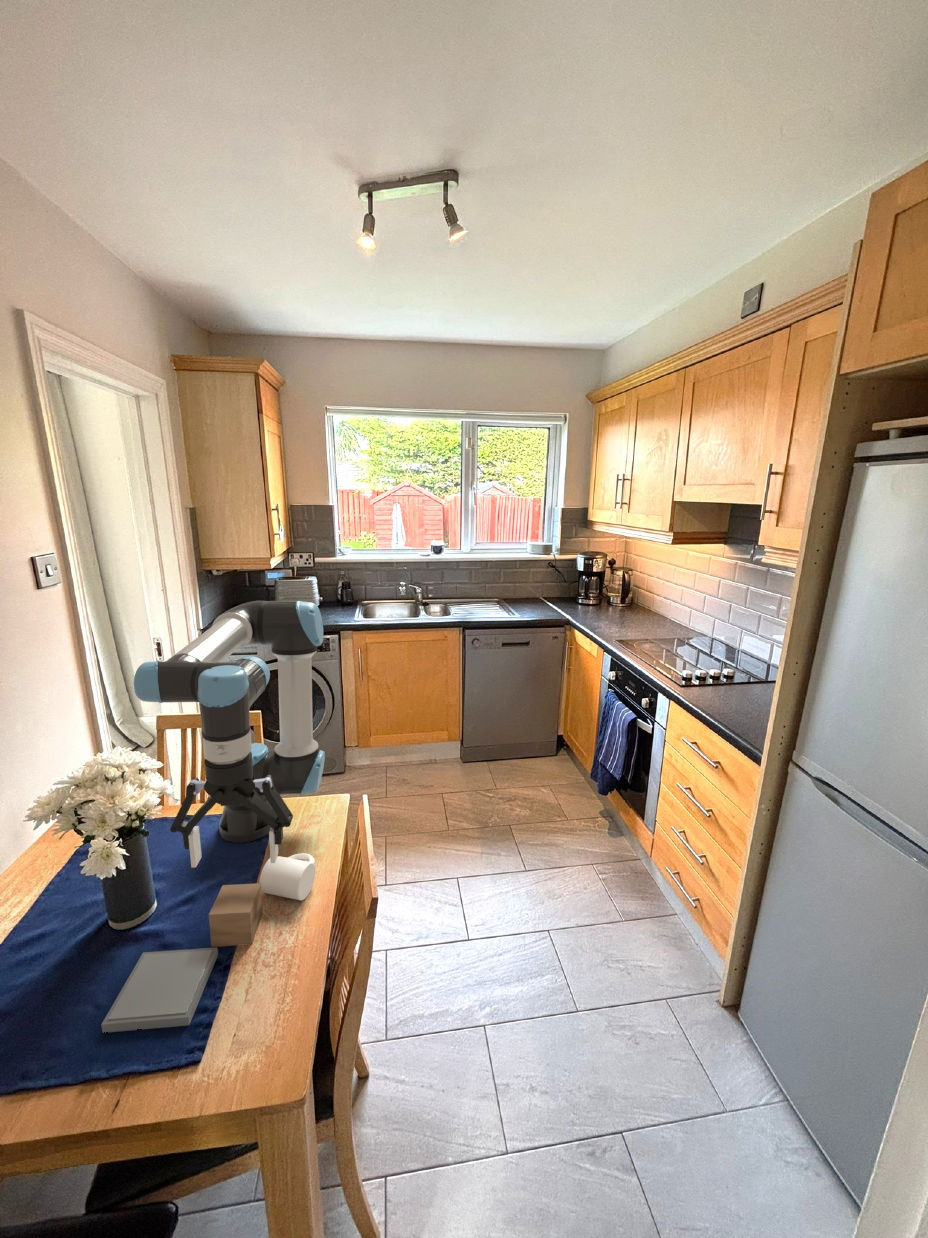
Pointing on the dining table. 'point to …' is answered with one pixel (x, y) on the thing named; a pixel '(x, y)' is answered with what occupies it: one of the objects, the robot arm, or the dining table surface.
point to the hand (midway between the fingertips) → (236, 860)
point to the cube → (235, 915)
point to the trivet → (161, 990)
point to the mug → (288, 876)
